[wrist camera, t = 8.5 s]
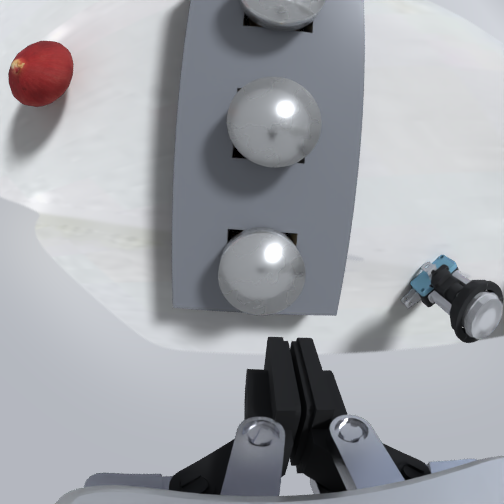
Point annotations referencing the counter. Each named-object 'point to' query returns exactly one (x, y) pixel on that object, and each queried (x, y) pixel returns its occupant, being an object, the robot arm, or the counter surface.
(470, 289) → the push button
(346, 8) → the knob panel
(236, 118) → the knob middle
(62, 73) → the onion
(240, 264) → the knob
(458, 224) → the counter surface
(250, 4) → the knob
